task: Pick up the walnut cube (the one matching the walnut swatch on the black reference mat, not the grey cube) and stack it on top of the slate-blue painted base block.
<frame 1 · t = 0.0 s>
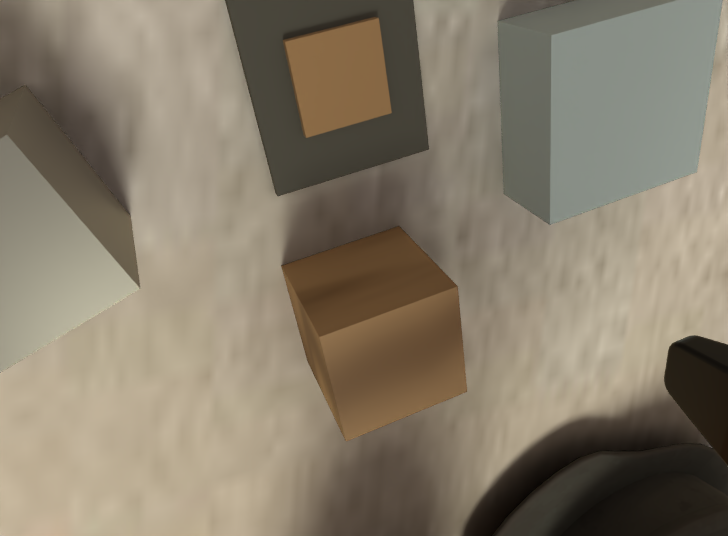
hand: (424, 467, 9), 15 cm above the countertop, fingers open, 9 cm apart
walnut cube: (351, 295, 26), on the countertop
grey cube: (10, 195, 19), on the countertop
reference mat: (335, 75, 21), on the countertop
base block: (571, 89, 25), on the countertop
casserole: (597, 524, 43), on the countertop
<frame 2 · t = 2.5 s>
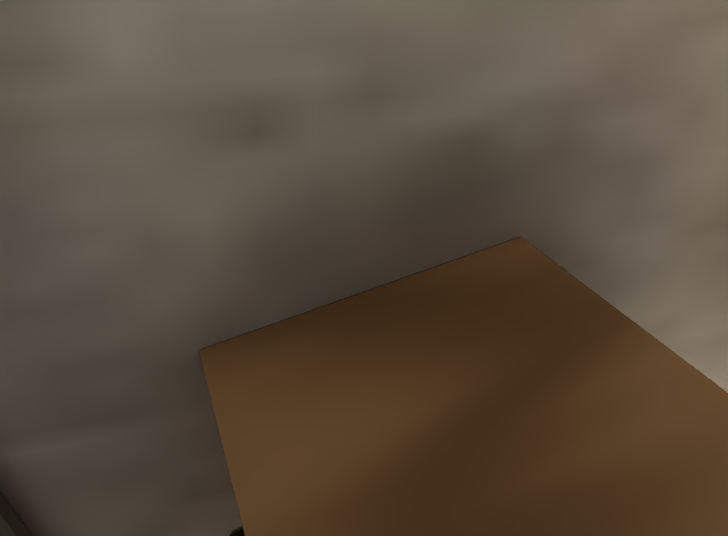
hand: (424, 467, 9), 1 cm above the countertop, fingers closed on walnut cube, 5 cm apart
walnut cube: (391, 412, 10), on the countertop, touching gripper
when the fingers open (6 cm above the countertop, at t = 6.1 s): walnut cube drops 2 cm, resting on base block.
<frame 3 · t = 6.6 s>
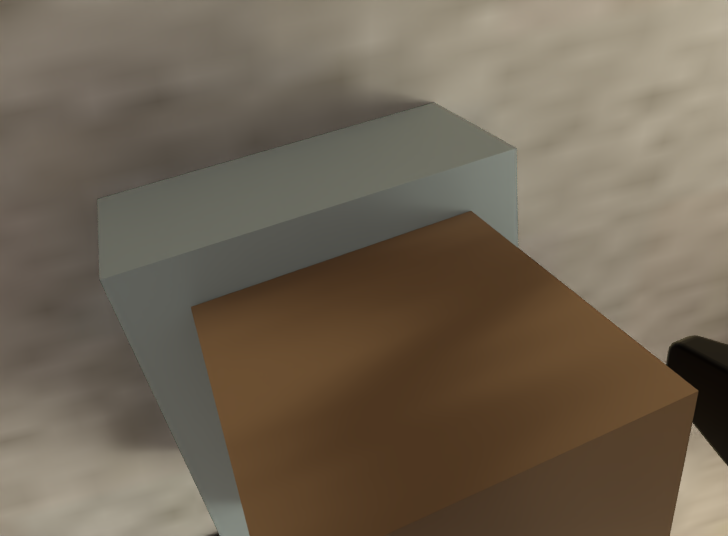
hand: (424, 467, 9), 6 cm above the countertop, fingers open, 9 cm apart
walnut cube: (362, 366, 12), point 3 cm above the countertop, touching base block
base block: (306, 281, 15), on the countertop, touching walnut cube
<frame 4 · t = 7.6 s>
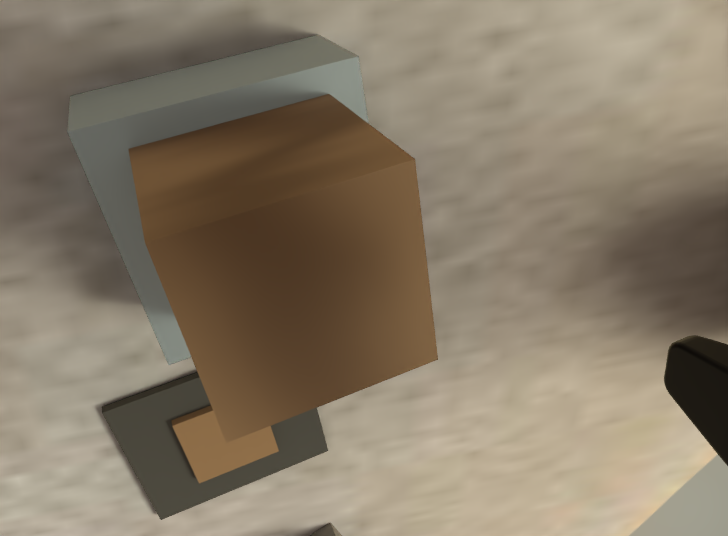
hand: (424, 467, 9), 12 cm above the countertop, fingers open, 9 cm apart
walnut cube: (257, 210, 16), point 3 cm above the countertop, touching base block
reference mat: (225, 428, 24), on the countertop
base block: (232, 175, 19), on the countertop, touching walnut cube
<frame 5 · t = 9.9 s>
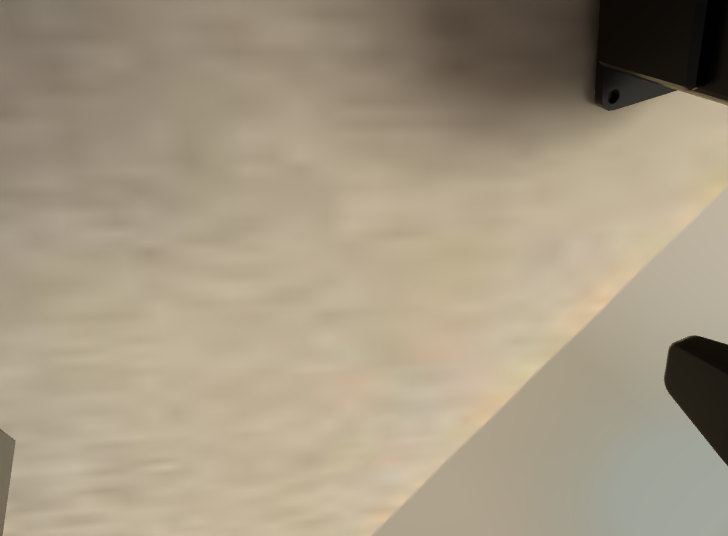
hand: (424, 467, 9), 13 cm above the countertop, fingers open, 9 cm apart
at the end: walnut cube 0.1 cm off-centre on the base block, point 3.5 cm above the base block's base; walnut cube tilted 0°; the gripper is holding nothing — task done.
